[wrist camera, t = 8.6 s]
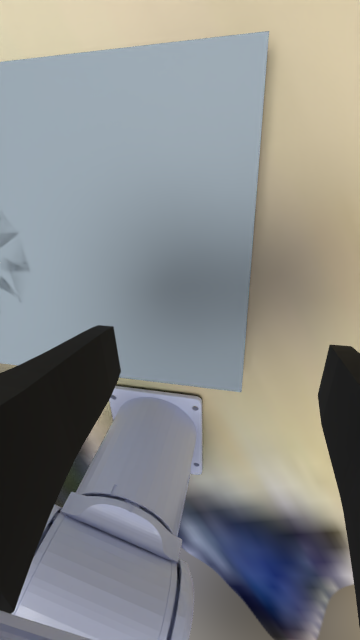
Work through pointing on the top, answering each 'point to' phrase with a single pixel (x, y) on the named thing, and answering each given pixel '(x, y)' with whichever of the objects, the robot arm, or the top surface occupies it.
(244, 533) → the top surface
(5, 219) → the deck
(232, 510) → the top surface
